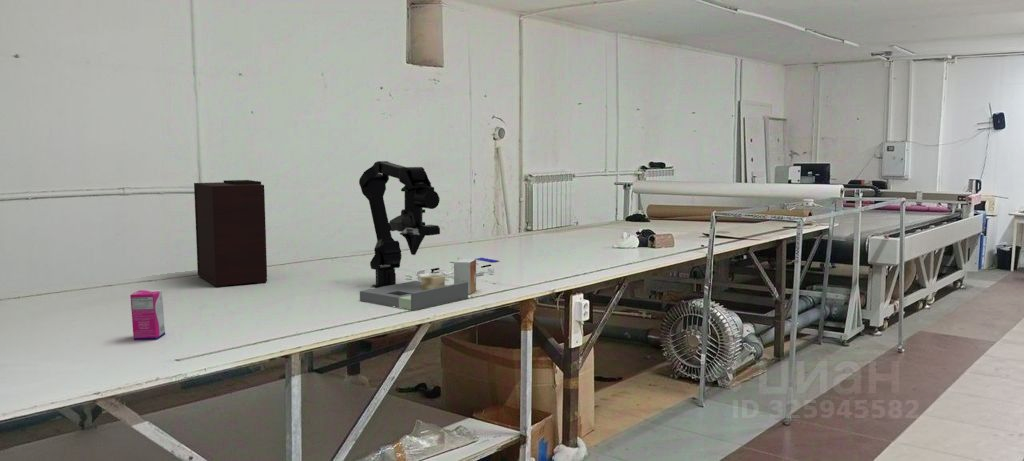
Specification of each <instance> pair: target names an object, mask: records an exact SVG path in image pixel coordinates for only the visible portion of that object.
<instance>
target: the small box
mask: <svg viewBox="0 0 1024 461" xmlns="http://www.w3.org/2000/svg"><path fill="white" fill-rule="evenodd" d="M476 259H477V258H462V259H461V258H460V260H458V261H457V260H456V261H453V262H454V263H453V266H454V268H453V271H454V273H453V275H454V277H453V284H457V283H462V282H468V295H471V294H472V293H474V292H476V291H477V276H476V271H477V269H476V267H477V265H476V262H477V260H476Z"/></svg>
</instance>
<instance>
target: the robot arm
mask: <svg viewBox="0 0 1024 461" xmlns="http://www.w3.org/2000/svg"><path fill="white" fill-rule="evenodd" d="M390 177H392V178H395V179H398V181H399V183H401V184H402V185H404V186H403V187H402V188H400V192H404V209H401V211H400V215H397V216H395V217H394V218H392V219H390V220H389V218H388V214H387V210H386V205H385V200H384V196H385V192H386V190H387V186H386V184H387V183H388V182H389V180H390ZM358 184H359V187H360V189H361V193H362V194H363V196H364V197H365V198H366V199H367V201H368V203H369V207H370V208H369V209H370V212H371V217H372V223H373V225H374V226H373V227H374V232H375V236H376V244H375V245H374V246H375V247H374V255H373V257H372V258H371V261H370V262H369V265H370V269H371V270H374V271H375V284H372V287H374V288H379V287H384V286H389V285H395V284H397V282H396V281H397V278H396V277H397V275H396V274H397V273H396V269H399V268H400V265H401V260H402V256H403V255H402V249H401V246H400V245H401V244H400V241H399V240H395V239H394V238H393V236H392V232H395V231H397V232H399V235H401V236H403V238H405V240H406V243H407V246H408V248H409V252H410V254H411V255H412V256H416V254H417V253H418V250H419V248H420V246H421V245H422V242H423V240H424V239H425V236H426V237H427V236H434V235H435V236H436V235H440V234H441V228H440V226H439V225H438V224H437V225H436V224H426V222H425V221H423V214H424V213H426V209H429V210H434V209H436V208H437V207H439V206H438V205H439V204H440V196H439V194H438V191H437V192H436V191H435V187H434V186H432V182H431V180H429V177H428V174H427V172H426V171H425V168H424V167H422V166H404V165H400V164H395V163H392V162H390V161H387V160H386V161H385V160H382V161H380V160H379V161H376V162H374V163H373V165H372V166H370V167H369V168H368V169H366V170H364V172H363V173H362V174H361V176H360V178H359V181H358Z"/></svg>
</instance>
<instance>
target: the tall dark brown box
mask: <svg viewBox="0 0 1024 461" xmlns="http://www.w3.org/2000/svg"><path fill="white" fill-rule="evenodd" d="M193 189H194V190H193V192H194V212H195V213H194V214H195V216H194V217H195V237H196V238H195V239H196V240H195V241H196V242H195V243H196V262H197V263H196V264H197V265H196V266H197V267H196V268H197V276H198V277H200V278H201V279H203V280H205V281H206V282H208V283H209V284H211V285H213V286H214V287H217V288H225V287H226V286H234V285H235V286H236V285H244V284H245V285H246V284H254V283H255V284H259V285H260V284H266V283H267V282H268V268H267V266H268V265H267V262H268V261H267V260H268V259H267V231H266V230H267V229H266V226H267V225H266V204H265V203H266V202H265V198H266V196H265V184H262V181H261V180H260V181H258V180H250V179H232V180H231V179H228V180H226V179H225V180H223V181H222V182H218V181H217V182H194V183H193Z"/></svg>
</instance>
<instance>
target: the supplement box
mask: <svg viewBox="0 0 1024 461" xmlns="http://www.w3.org/2000/svg"><path fill="white" fill-rule="evenodd" d="M129 297H130V310H131V311H130V312H131V322H132V323H131V324H132V335H133V336H132V337H133V340H134V341H147V340H148V341H150V340H151V341H152V340H153V341H157V340H159V339H160V338H161V337H164V335H166V329H165V328H166V326H165V312H164V303H163V302H164V300H163V290H162V289H143V290H142V289H141V290H137V291H136V292H135V291H134V292H133V293H131V294H130V296H129Z"/></svg>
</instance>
